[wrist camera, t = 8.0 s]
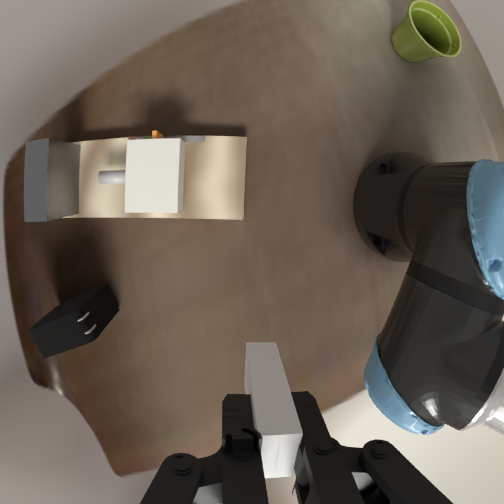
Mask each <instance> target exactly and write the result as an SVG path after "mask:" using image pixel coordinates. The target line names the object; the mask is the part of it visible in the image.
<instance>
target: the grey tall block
mask: <svg viewBox="0 0 504 504" xmlns="http://www.w3.org/2000/svg"><path fill="white" fill-rule="evenodd" d="M80 151H81V145H78V144H74V143H69V142H65V141H60V140H56V139H51V138H46V139H40V140H34V141H29V142H26V151H25V169H24V218H25V222H44V221H51V220H55V219H59V218H63V217H67V216H72V215H76V214H79V170H80Z"/></svg>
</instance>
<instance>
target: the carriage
mask: <svg viewBox="0 0 504 504" xmlns="http://www.w3.org/2000/svg"><path fill="white" fill-rule="evenodd" d="M185 147H186V143H185V142H184V141H183V140H182V139H181V138H164V139H163V135H162V134H161V133H160V132H158V131H157V130H155V131H152V139H137V140H127V152H126V170H108V171H100V172H99V173H98V182H99V184H125V213H178V212H180V211H182V210H183V194H184V167H185Z"/></svg>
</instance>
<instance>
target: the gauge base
mask: <svg viewBox="0 0 504 504" xmlns="http://www.w3.org/2000/svg"><path fill="white" fill-rule="evenodd" d="M164 138H181V139H182V140H183V141H184V142H185V143H186V147H185V167H184V194H183V210H182V211H180V212H178V213H125V184H99V182H98V173H99V172H100V171H108V170H126V152H127V140H137V139H152V136H144V137H136V136H132V137H128V138H114V139H101V140H91V141H81V142H72V143H74V144H78V145H81V151H80V170H79V214H76V215H72V216H67V217H63V218H95V217H131V218H200V219H235V220H243V214H244V191H245V169H246V148H247V137H235V136H164V135H163V139H164Z"/></svg>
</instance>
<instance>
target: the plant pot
mask: <svg viewBox="0 0 504 504" xmlns="http://www.w3.org/2000/svg"><path fill="white" fill-rule="evenodd" d="M391 40H392V42H393V46H394V49H395V51H396V52H397V53H398V54H399V55H400V56H401V57H402V58H403V59H405V60H406V61H409V62H415V63H416V62H420V61H424V60H427V59H431V58H435V57H448V58H451V57H455V56H457V55H458V54H459V53H460V51H461V48H462V42H461V37H460V34H459V31H458V29H457V27H456V25H455V24H454V22H453V21H452V20H451V18H450V17H449V16H448V15H447V14H446V13H445V12H444V11H443V10H442V9H441V8H439V7H438V6H436V5H434V4H433V3H430V2H428V1H425V0H416V1H414V2H412V3H411V4H410V6H409V9H408V13H407V16H406V17H405V19H404V20H403V21H402V22H401V24H400V25H399V26H398V27H397V29H396V30H395V31H394V32H393V34H392V36H391Z"/></svg>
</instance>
